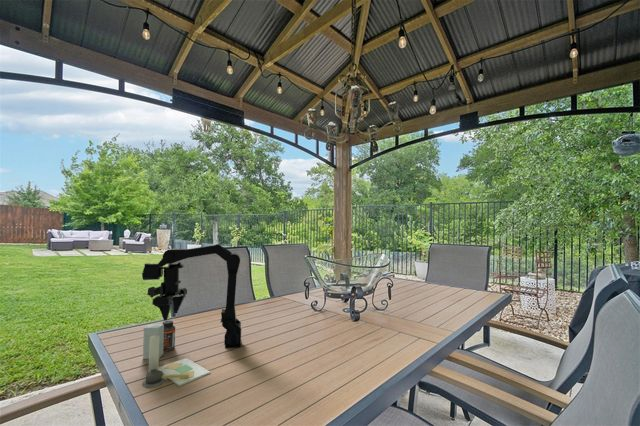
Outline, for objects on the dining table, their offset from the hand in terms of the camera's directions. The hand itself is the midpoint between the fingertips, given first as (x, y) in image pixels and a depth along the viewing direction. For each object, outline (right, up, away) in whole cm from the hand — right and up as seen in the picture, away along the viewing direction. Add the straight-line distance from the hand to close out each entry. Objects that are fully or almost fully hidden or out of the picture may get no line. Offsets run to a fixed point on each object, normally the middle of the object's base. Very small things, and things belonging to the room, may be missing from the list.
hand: (170, 316), depth 124 cm
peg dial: (+9, -12, -23) cm, 28 cm away
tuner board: (+11, -13, -21) cm, 27 cm away
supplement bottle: (-2, -14, 0) cm, 14 cm away
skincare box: (-4, -14, -7) cm, 16 cm away
